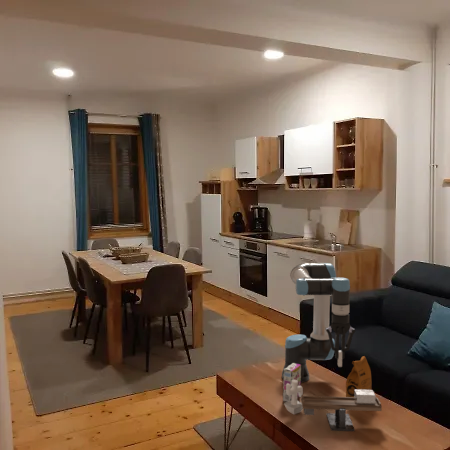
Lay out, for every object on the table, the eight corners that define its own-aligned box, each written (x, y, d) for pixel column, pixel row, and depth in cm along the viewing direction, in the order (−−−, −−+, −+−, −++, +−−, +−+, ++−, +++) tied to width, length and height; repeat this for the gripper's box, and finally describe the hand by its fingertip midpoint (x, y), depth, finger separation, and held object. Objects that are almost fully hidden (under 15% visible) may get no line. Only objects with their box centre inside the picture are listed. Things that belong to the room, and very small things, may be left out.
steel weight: (354, 400, 213) (354, 389, 212) (372, 400, 212) (372, 389, 212) (356, 405, 207) (357, 394, 207) (375, 406, 207) (375, 395, 206)
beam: (300, 406, 216) (301, 393, 216) (376, 409, 214) (376, 395, 213) (302, 415, 207) (303, 402, 207) (381, 418, 205) (381, 404, 205)
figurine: (307, 411, 222) (307, 380, 221) (292, 417, 216) (292, 385, 215) (296, 406, 228) (296, 375, 227) (281, 411, 222) (281, 380, 221)
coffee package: (342, 403, 231) (342, 359, 229) (356, 396, 239) (357, 353, 237) (359, 410, 223) (360, 365, 222) (374, 402, 231) (375, 358, 230)
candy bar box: (291, 404, 230) (292, 371, 229) (282, 401, 233) (282, 369, 232) (301, 395, 239) (301, 364, 238) (292, 393, 242) (292, 362, 241)
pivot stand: (326, 415, 218) (326, 396, 218) (348, 416, 218) (348, 397, 217) (331, 430, 204) (331, 410, 204) (354, 431, 204) (355, 411, 203)
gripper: (326, 315, 204) (326, 368, 206) (357, 315, 203) (356, 369, 205) (324, 310, 212) (323, 362, 213) (353, 311, 211) (352, 362, 212)
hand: (339, 365), depth 209 cm, fingers closed
